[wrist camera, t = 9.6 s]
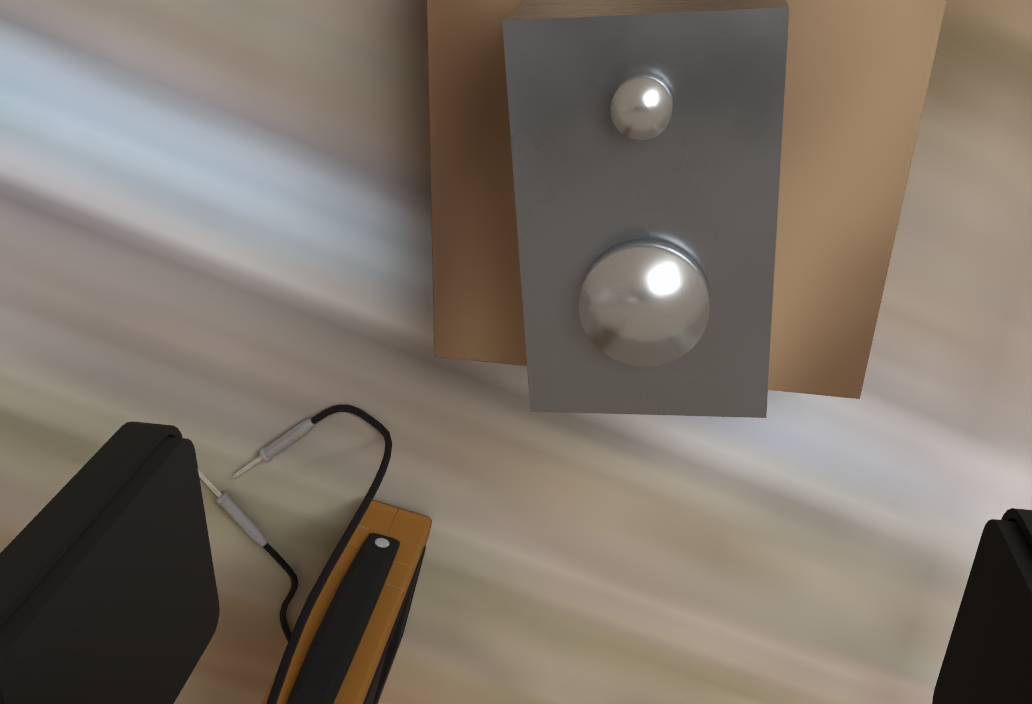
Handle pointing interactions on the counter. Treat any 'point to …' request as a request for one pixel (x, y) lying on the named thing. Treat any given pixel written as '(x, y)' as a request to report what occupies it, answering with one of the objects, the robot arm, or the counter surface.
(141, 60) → the counter surface
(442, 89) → the stand
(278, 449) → the multimeter
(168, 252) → the counter surface
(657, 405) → the housing
